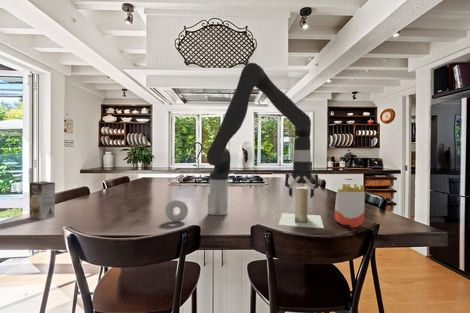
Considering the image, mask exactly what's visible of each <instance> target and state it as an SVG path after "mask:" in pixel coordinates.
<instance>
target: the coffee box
mask: <svg viewBox="0 0 470 313" xmlns="http://www.w3.org/2000/svg"><path fill="white" fill-rule="evenodd" d="M55 188H56V184H55V182H51V181H35V182H29V218H31V219H35V220H40V221H44V220H48V219H51V218H55V217H56V216H55V214H56V210H55V209H56V206H55V204H56V203H55V202H56V198H55V197H56V195H55V194H56V189H55Z"/></svg>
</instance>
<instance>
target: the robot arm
mask: <svg viewBox="0 0 470 313" xmlns="http://www.w3.org/2000/svg"><path fill="white" fill-rule="evenodd" d="M254 88H256V89H258V90H259V91H260V92H261V93H263V94H264V96H265V97H266V98H267V99H268V100H269V101H270V103H271V104H272V105H273V106H274V108H275V109H276V110H277V111H278V112H280V113H281V115H283V117H285V118H286V119H287V120H289V122H290V123H291V124H292V125H293V126H294V140H293V141H294V142H293V146H294V147H293V155H292V173H288V172H286V173H285V182H284V187H285V188H286V187H287V188H288V196H290V197H291V198H292V197H293V187H294V185H295V184H296V183H297V184H303V185H306V184H307V185H308V187H309V188H310V190H309V191H310V194H309V196H310V199H313V197H314V196H315V189H318V188H319V175H318V173H315V174H314V173H313V174H312V173H311V169H312V168H311V166H312V163H311V162H312V161H311V160H312V154H311V130H312V121H311V118H310V116H308V114H307V113H305V112H304V111H303V110H302V109H301V108H299V107H298V105H296V103H294V101H293V100H292V99H290V97H288V95H286V94H285V93H284V92H283V91H282V90H281V89H280V88H278V86H276V84H274V83H273V81H272V80H271V79H270V78H269V76H268V75H267V74H266V72H265V70H264V69H263V67H261V66H260V65H259V64H258V63H256V62H249V63H247V64H245V66H244V67H243V68H242V69H241V73H240V75H239V78H238V82H237V86H236V88H235V91H234V94H233V95H232V98H231V100H230V101H229V105H228V106H227V108H226V112H225V114H224V116H223V118H222V121H221V124H220V127H219V128H218V131H217V132H216V135H215V137H214V138H213V141H212V142H211V145H210V147H208V150H207V153H206V160H207V163H208V164H209V165H210V166H213V167H214V168H213V170H212V171H211V172H210V173H209V190H208V191H209V194H207V215H212V216H225V215H228V213H229V212H228V210H229V208H228V207H229V175H230V172H231V171H230V170H231V153H230V150H229V149H228V148H227V146H228V144H229V142H230V140H231V139H232V138H233V137H234V136H235V135H236V134H237V133H238V131H239V130H240V129H241V127H242V125H243V123H244V121H245V119H246V115H247V112H248V109H249V108H248V107H249V101H250V97H251V95H252V93H253V91H254ZM291 177H292V178H293V180H292V182H291V183H290V184H289V179H290V178H291ZM312 178H313V180H314V182H315V184H314V185H313V184H312V182H311V181H310V180H311V179H312Z"/></svg>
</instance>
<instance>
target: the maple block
mask: <svg viewBox="0 0 470 313" xmlns="http://www.w3.org/2000/svg"><path fill="white" fill-rule="evenodd" d="M308 193H309V192H308V186H295V204H294V205H295V206H294V208H295V212H294V214H295V222H297V223H307V215H308V204H309V203H308V200H309V199H308V196H309V194H308Z"/></svg>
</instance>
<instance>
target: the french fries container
mask: <svg viewBox="0 0 470 313" xmlns="http://www.w3.org/2000/svg"><path fill="white" fill-rule="evenodd" d="M365 196H366V193H365V185H361V184H360V186H357V184H356V183H354V184H353V187H351V184H350V183H349V184H348V183H347V184H346V183H342V188H337V191H336V197H335V203H334V204H335V206H334V219H335V220H336V222H338V223H339V224H341V225H343V226H344V225H345V226H346V225H348V226H349V225H350V228H358V227H359V226H360V225H362V224H363V223H364V222H365V200H366V197H365Z"/></svg>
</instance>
